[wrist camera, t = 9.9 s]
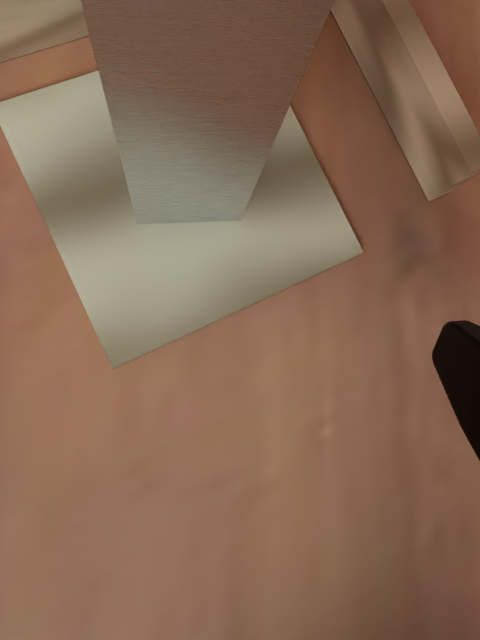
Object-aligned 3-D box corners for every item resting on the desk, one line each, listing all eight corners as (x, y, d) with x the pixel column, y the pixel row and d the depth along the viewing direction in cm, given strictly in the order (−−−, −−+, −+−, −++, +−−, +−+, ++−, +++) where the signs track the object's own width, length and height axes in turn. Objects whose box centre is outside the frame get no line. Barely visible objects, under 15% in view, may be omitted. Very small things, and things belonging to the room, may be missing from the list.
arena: (457, 208, 21) (504, 181, 18) (-10, 425, 16) (-50, 437, 13) (319, -59, 21) (342, -128, 18) (-162, 81, 17) (-233, 20, 14)
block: (240, 220, 19) (354, -47, 7) (137, 224, 18) (64, -68, 6) (225, 62, 19) (303, -422, 8) (125, 59, 19) (42, -479, 7)
